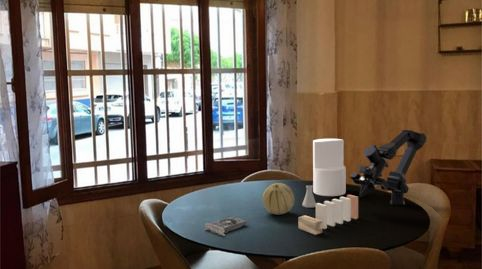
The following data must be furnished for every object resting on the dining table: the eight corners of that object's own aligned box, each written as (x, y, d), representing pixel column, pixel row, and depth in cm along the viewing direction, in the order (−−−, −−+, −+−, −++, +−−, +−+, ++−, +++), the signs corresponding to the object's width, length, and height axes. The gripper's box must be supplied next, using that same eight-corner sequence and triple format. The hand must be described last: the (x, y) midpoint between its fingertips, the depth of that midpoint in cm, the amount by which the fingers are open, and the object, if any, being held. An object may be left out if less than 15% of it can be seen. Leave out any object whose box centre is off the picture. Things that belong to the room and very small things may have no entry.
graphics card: (222, 229, 196) (204, 222, 205) (222, 238, 197) (204, 231, 206) (252, 220, 208) (233, 214, 216) (252, 229, 208) (233, 222, 217)
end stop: (305, 226, 206) (305, 215, 206) (322, 232, 198) (322, 220, 198) (298, 228, 204) (298, 217, 203) (315, 234, 196) (315, 222, 195)
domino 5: (349, 215, 219) (349, 194, 218) (358, 218, 215) (358, 196, 214) (347, 216, 218) (347, 195, 217) (355, 219, 214) (355, 197, 213)
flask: (305, 208, 232) (305, 188, 231) (299, 204, 239) (299, 185, 237) (319, 207, 234) (319, 187, 232) (313, 203, 241) (313, 183, 239)
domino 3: (334, 220, 213) (334, 198, 212) (343, 223, 209) (343, 200, 208) (331, 221, 212) (331, 199, 211) (340, 224, 208) (340, 201, 207)
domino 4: (342, 218, 216) (342, 196, 215) (350, 220, 212) (350, 198, 211) (339, 218, 215) (339, 197, 214) (348, 221, 211) (348, 199, 210)
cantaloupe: (292, 208, 233) (291, 178, 230) (296, 218, 218) (296, 186, 216) (261, 209, 232) (260, 179, 230) (264, 219, 218) (263, 187, 215)
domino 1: (318, 225, 208) (318, 202, 206) (326, 228, 204) (326, 205, 202) (315, 226, 207) (315, 203, 205) (324, 229, 203) (324, 206, 201)
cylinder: (308, 189, 267) (307, 139, 263) (335, 186, 272) (335, 137, 268) (322, 197, 251) (322, 144, 247) (351, 194, 256) (351, 142, 252)
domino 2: (326, 222, 210) (326, 200, 209) (335, 225, 206) (335, 203, 205) (324, 223, 210) (323, 201, 208) (332, 226, 206) (332, 203, 204)
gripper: (352, 155, 227) (336, 182, 222) (385, 161, 212) (368, 189, 207) (363, 169, 233) (347, 195, 228) (395, 176, 218) (380, 204, 213)
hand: (360, 196), depth 218 cm, fingers closed
